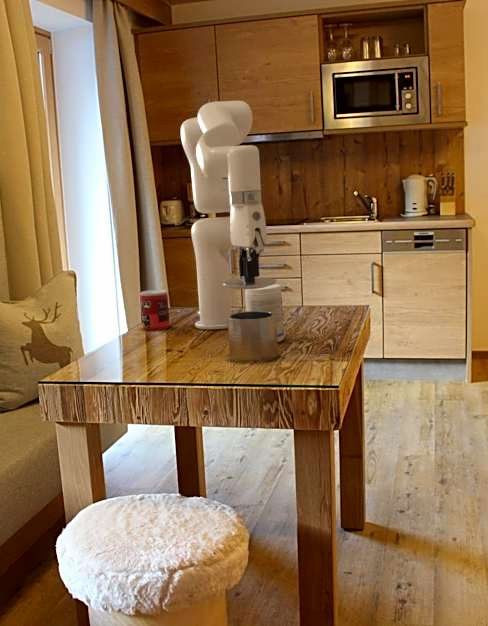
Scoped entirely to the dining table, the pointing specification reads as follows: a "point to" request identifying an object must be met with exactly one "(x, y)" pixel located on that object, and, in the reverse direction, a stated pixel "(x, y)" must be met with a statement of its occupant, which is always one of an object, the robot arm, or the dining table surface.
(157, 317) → the canned food
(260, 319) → the steel jar
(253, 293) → the supplement tub
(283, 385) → the dining table surface
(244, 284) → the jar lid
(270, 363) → the dining table surface
